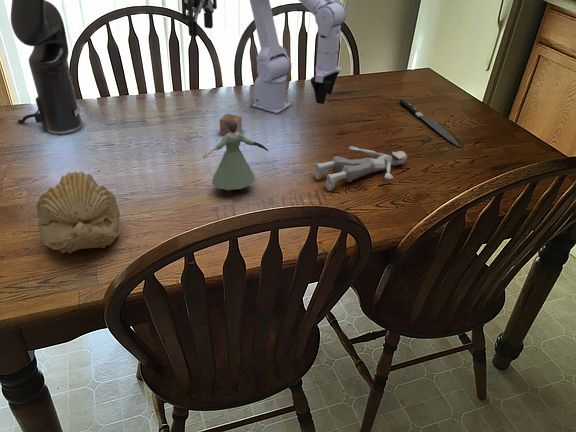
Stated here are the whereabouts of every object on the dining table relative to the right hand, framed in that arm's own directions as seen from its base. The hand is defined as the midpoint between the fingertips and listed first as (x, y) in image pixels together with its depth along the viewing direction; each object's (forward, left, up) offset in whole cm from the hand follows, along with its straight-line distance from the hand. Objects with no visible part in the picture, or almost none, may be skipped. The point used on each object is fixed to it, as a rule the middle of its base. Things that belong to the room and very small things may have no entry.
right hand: (323, 98), depth 143 cm
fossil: (-14, -75, -8) cm, 77 cm away
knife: (+26, +21, -8) cm, 34 cm away
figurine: (+22, -18, -8) cm, 30 cm away
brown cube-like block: (-19, -20, -8) cm, 28 cm away
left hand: (-28, -18, +18) cm, 38 cm away
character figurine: (0, -42, -8) cm, 43 cm away
